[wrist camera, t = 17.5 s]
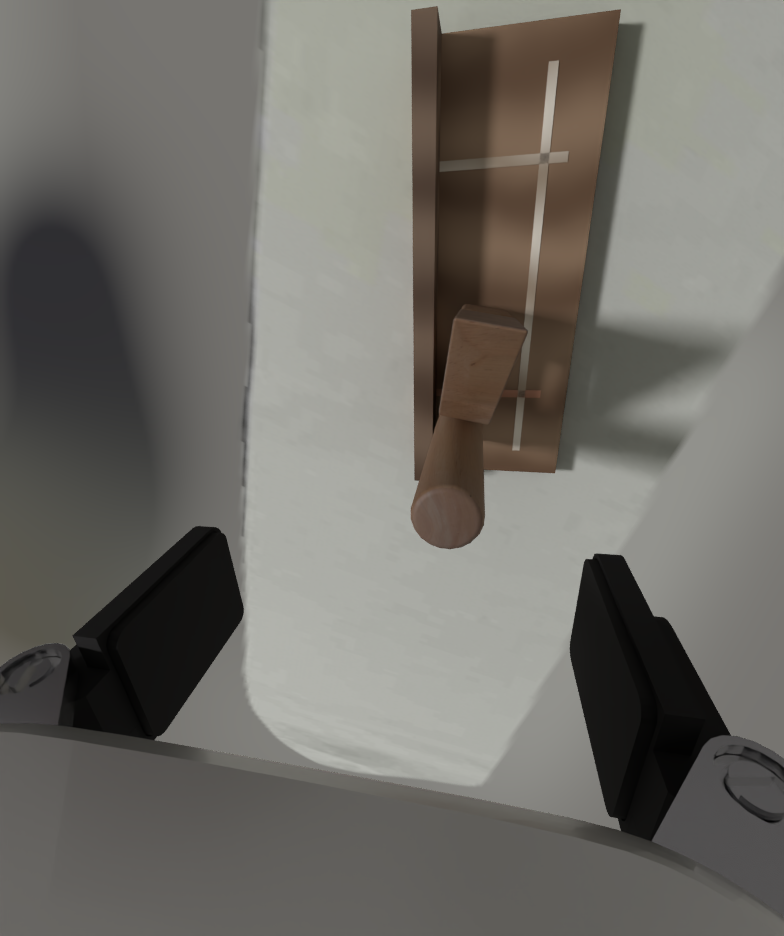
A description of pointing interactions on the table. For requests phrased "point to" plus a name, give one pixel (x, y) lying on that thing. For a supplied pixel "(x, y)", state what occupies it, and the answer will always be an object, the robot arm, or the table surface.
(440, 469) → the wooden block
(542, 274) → the marking board
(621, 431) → the table surface
